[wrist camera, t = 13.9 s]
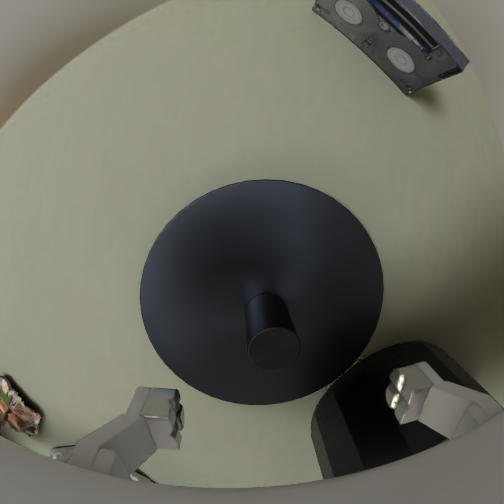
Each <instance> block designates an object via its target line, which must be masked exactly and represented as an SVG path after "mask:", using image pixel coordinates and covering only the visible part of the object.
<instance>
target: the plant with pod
mask: <svg viewBox="0 0 504 504" xmlns="http://www.w3.org/2000/svg"><path fill="white" fill-rule="evenodd" d="M10 385H11V383H10V382H9V381H8V379H7V378H5V377H3V376H0V429H1V427H3V426H4V425H5V423H6V421H7V422H8V423H9V425H10V427H11V428H12V429H14V430H15V431H17V432H24V433H26V434H27V435H28V434H29V436H31V435H32V436H33V434H35V435H37V434H38V433H39V432H38V430H37V429H36V428H39V426H38V424H39V422H38V421H40V419H41V417H40V415H39V414H38V413H35V412H34V410H32V409H30V408H29V407H28V406H26V407H24V401H23V402H21V398H20V397H19V396H17V394H18V393H17V392H15V390H14V389H12V386H10ZM0 436H2V435H1V434H0Z"/></svg>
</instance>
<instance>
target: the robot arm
mask: <svg viewBox="0 0 504 504" xmlns="http://www.w3.org/2000/svg"><path fill="white" fill-rule="evenodd" d="M390 379H391V382H390V384H389V385H388V386H387V389H386V400H387V403H388V405H389V407H390V408H393V409H395V413H394V415H395V416H396V418H397V420H398V421H399V423H400V425H402V424H405V423H409V422H412V421H415V420H418V419H419V420H418V421H420V422H421V423H423V424H425V425H426V426H428V427H430V428H432V429H433V430H435V431H437V432H438V433H440V434H442V435H444V436H445V437H447V438H449V439H450V440H448V441H446V442H444V443H441V444H439V445H437V446H435V447H432V448H430V449H427V450H425V451H422V452H420V453H417V454H415V455H412V456H409V457H406V458H404V459H401V460H398V461H395V462H392V463H389V464H385V465H382V466H379V467H375V468H372V469H368V470H364V471H361V472H357V473H353V474H348V475H344V476H339V477H334V478H329V479H324V480H318V481H312V482H306V483H298V484H290V485H281V486H270V487H255V488H198V487H183V486H172V485H163V484H155V483H148V482H142V481H136V480H132V478H131V477H130V475H131V474H132V473H133V472H134V471H135V470H136V469H138V468H139V467H140V466H141V465H142V464H143V463H144V462H145V461H146V460H147V459H148V458H149V457H150V456H151V455H152V454H153V453H154V452H155V451H156V450H157V449H170V450H179V449H180V443H181V438H182V437H181V433H180V431H181V430H182V429H183V427H184V410H183V406H182V405H181V404H180V403H179V402H180V394H179V391H178V390H177V389H164V388H149V387H138V388H137V390H136V392H135V394H134V397H133V399H132V401H131V404H130V406H129V408H128V411H127V413H126V414H122V415H120V416H118V417H117V418H115V419H114V420H112V421H110V422H109V423H107V424H105V425H104V426H102V427H101V428H99V429H97V430H96V431H94V432H92V433H91V434H89V435H87V436H86V437H84V438H82V439H80V440H79V441H77V443H76V445H75V447H74V449H73V451H72V453H71V455H70V457H69V459H68V461H67V463H64V462H61V461H58V460H55V459H52V458H50V457H47V456H44V455H42V454H39V453H37V452H34V451H32V450H29V449H27V448H25V447H22V446H20V445H18V444H16V443H14V442H12V441H10V440H8V439H6V438H4V437H2V436H0V504H504V409H503V408H502V407H501V406H500V405H499V404H498V403H497V402H496V401H495V400H494V399H493V398H492V397H491V396H490V395H488V394H484V393H481V392H478V391H475V390H472V389H469V388H466V387H463V386H460V385H457V384H455V383H452V382H449V381H446V382H444V381H443V380H442V379H441V377H440V376H439V375H438V374H437V373H436V372H435V371H434V370H433V369H432V368H431V367H430V366H429V365H428V363H426V362H424V361H423V362H420V363H416V364H413V365H409V366H405V367H401V368H397V369H393V370H392V372H391V374H390Z"/></svg>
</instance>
